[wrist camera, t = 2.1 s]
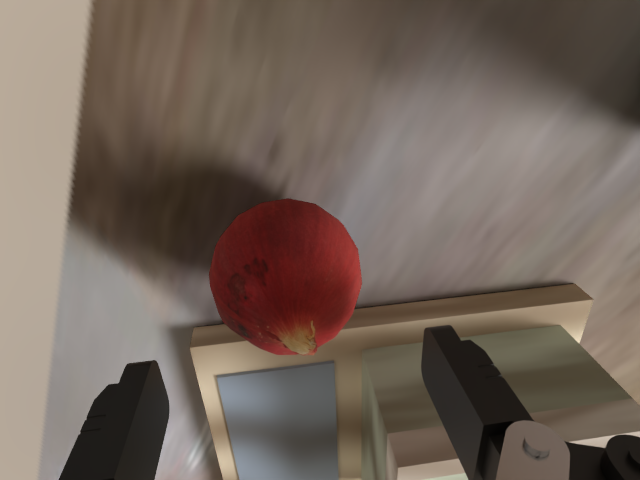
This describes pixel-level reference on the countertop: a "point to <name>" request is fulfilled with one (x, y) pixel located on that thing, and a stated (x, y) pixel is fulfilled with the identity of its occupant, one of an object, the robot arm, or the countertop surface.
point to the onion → (286, 276)
